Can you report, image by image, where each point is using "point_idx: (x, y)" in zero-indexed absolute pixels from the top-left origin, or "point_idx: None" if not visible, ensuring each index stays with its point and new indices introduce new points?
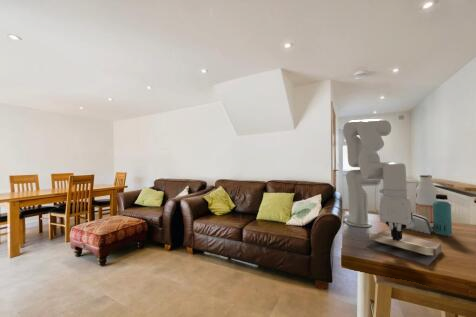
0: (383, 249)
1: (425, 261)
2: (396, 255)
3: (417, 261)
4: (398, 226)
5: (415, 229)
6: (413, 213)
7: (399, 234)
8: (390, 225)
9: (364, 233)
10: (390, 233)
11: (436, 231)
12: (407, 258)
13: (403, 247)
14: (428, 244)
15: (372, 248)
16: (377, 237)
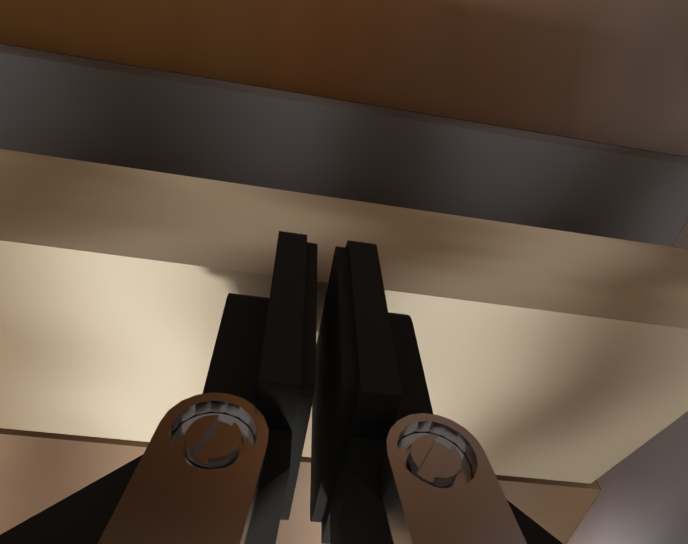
0: (484, 152)
1: None
2: (312, 97)
3: (50, 58)
4: (201, 535)
5: None
6: None
7: (239, 350)
8: (474, 530)
9: (680, 525)
10: None
11: None
12: (174, 77)
13: (211, 191)
14: (51, 503)
15: (618, 146)
16: (624, 284)
